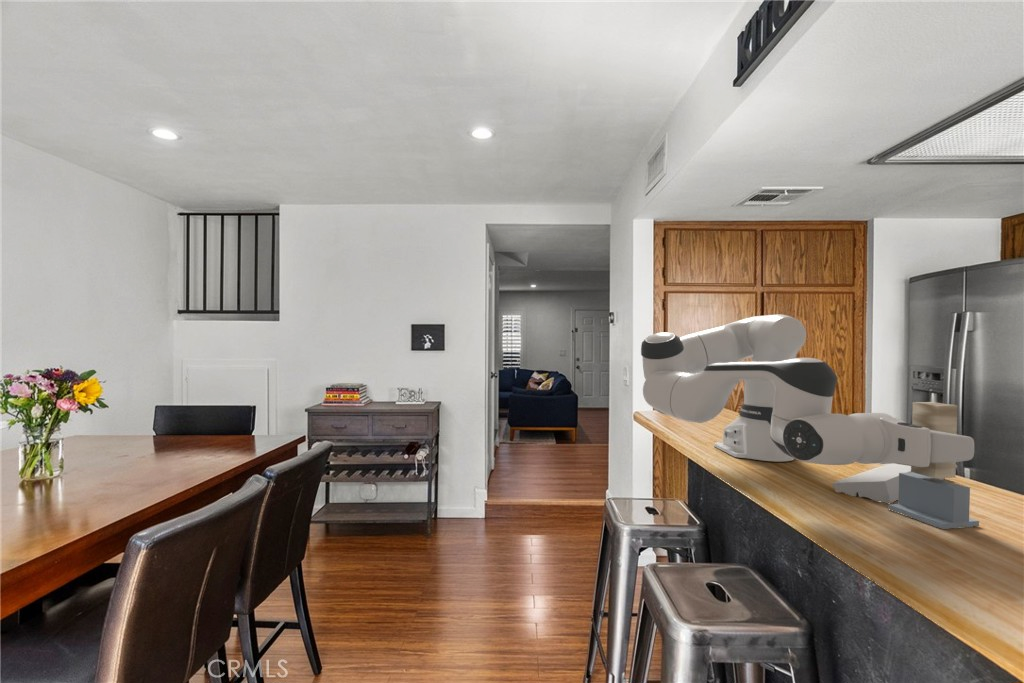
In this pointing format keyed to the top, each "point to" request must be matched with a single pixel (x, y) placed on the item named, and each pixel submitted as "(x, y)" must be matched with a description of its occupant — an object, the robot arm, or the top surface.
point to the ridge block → (934, 501)
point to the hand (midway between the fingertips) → (937, 436)
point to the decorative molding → (875, 483)
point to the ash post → (938, 420)
